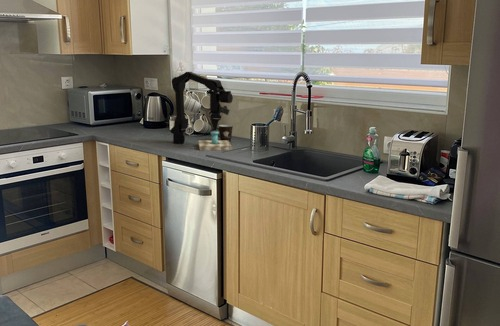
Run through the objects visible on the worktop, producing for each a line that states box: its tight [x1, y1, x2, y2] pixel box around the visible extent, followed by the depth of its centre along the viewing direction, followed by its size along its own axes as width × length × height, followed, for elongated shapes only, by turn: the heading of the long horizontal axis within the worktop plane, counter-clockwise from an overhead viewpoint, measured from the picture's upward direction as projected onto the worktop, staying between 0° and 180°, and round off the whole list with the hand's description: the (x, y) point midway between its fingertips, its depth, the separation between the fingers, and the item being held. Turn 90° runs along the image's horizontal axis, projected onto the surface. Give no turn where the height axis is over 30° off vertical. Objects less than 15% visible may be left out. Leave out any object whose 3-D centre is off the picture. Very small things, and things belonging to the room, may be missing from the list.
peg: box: [210, 130, 220, 144], centre depth 293 cm, size 5×5×9 cm
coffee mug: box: [212, 124, 234, 143], centre depth 313 cm, size 12×9×10 cm
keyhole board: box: [198, 139, 232, 151], centre depth 293 cm, size 18×18×2 cm
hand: (214, 128), depth 291 cm, fingers open, 9 cm apart
